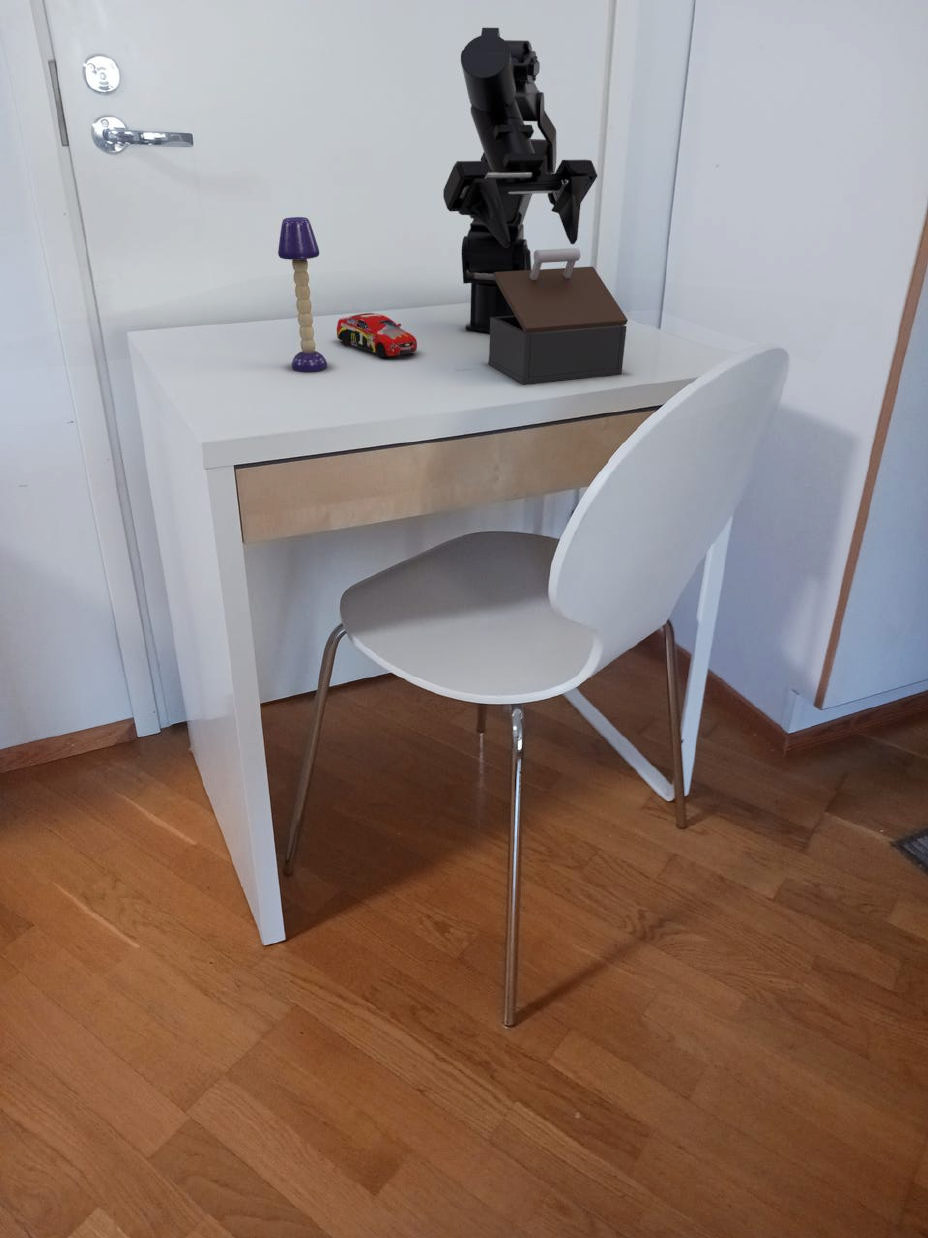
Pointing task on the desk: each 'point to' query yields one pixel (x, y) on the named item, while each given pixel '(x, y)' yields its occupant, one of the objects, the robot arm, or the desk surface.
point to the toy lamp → (302, 287)
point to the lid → (559, 295)
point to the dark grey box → (555, 351)
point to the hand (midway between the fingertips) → (541, 243)
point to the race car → (375, 335)
